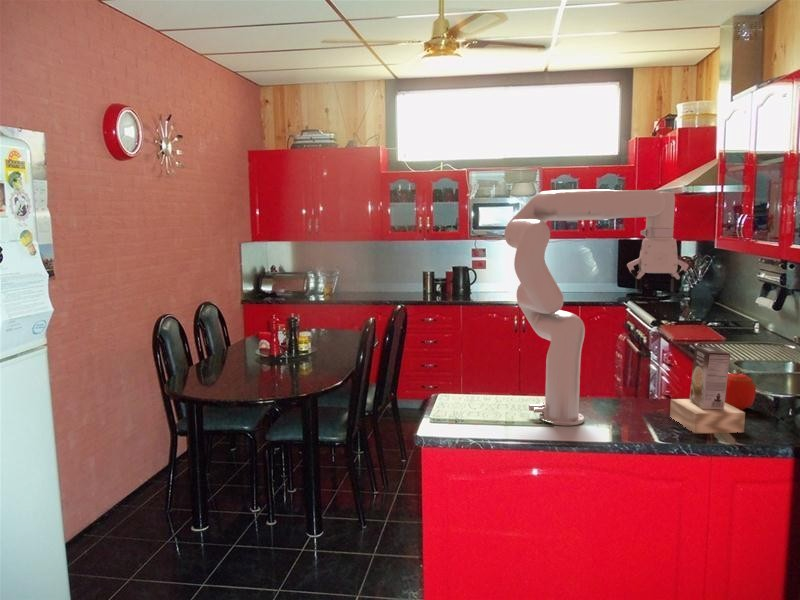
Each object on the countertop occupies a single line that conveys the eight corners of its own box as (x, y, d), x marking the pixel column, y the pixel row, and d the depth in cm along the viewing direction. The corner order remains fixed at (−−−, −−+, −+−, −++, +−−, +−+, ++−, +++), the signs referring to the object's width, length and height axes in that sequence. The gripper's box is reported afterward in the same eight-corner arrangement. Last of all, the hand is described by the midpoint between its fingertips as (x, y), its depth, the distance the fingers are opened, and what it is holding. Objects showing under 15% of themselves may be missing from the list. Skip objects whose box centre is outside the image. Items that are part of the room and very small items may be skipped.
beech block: (694, 434, 177) (695, 413, 176) (669, 419, 191) (670, 399, 190) (743, 433, 178) (745, 412, 177) (715, 418, 192) (716, 398, 191)
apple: (758, 407, 201) (761, 371, 199) (748, 415, 193) (751, 377, 192) (723, 401, 207) (725, 366, 206) (712, 408, 200) (715, 371, 199)
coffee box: (688, 399, 188) (693, 345, 186) (710, 400, 188) (716, 346, 186) (702, 409, 179) (708, 352, 177) (725, 410, 179) (731, 353, 177)
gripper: (631, 234, 188) (629, 293, 190) (694, 234, 186) (690, 294, 188) (625, 233, 195) (623, 290, 198) (685, 234, 193) (682, 291, 196)
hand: (656, 292), depth 193 cm, fingers open, 9 cm apart
